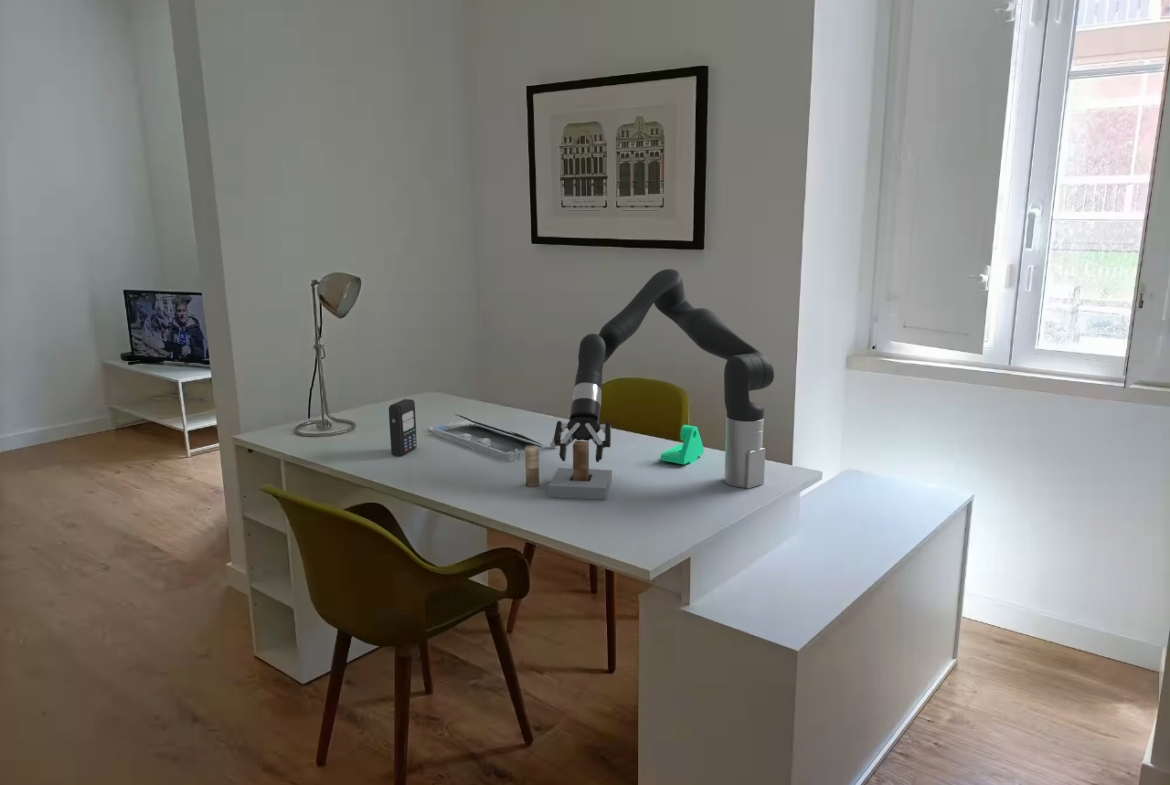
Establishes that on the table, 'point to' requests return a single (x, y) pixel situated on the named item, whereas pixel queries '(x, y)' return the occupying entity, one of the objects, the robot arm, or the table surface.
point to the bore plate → (580, 484)
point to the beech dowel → (532, 465)
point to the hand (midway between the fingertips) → (580, 460)
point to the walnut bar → (581, 461)
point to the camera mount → (685, 447)
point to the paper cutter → (481, 443)
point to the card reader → (402, 427)
